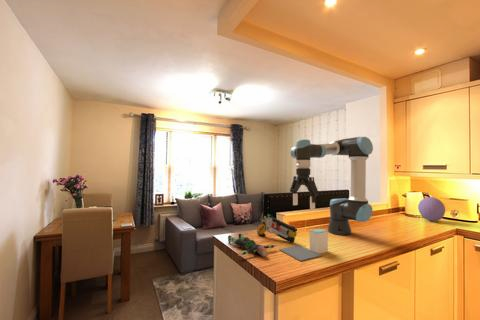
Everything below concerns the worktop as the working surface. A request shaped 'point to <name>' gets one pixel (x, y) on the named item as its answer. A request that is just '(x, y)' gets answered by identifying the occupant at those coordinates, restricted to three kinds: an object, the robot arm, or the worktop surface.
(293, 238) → the toy gun
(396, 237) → the worktop surface
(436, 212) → the ball
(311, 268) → the worktop surface
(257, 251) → the figurine
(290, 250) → the mat
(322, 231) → the cream rectangular block
